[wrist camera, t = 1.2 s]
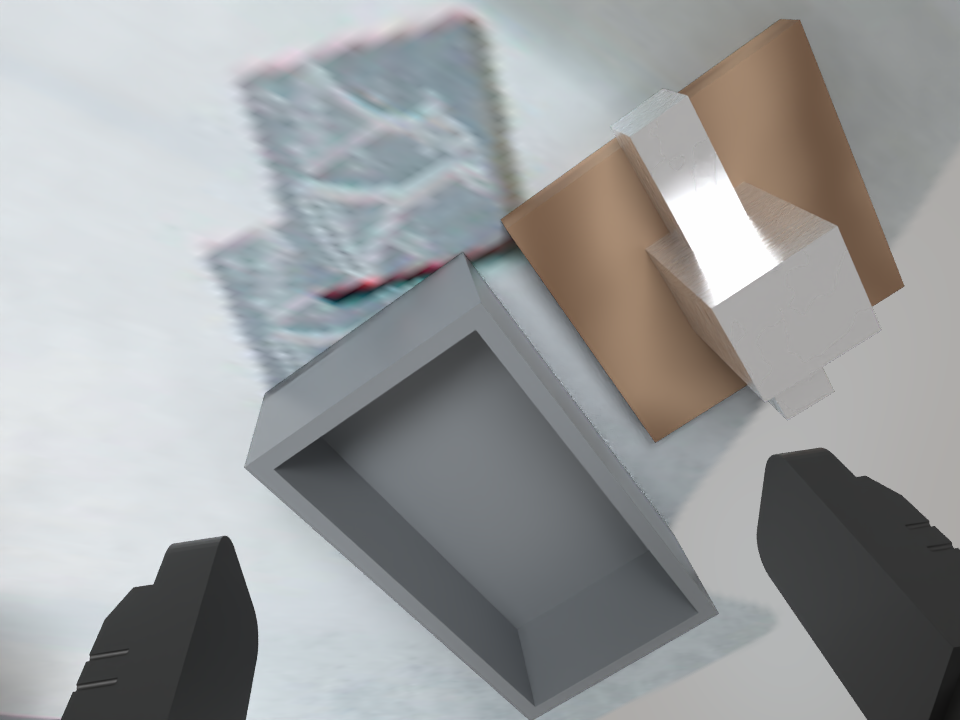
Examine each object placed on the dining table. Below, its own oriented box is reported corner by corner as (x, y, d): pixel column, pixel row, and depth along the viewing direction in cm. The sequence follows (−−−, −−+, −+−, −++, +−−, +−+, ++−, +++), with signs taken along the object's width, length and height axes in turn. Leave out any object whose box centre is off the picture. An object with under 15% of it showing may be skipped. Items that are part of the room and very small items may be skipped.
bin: (264, 393, 33) (243, 467, 28) (463, 251, 31) (480, 302, 26) (511, 632, 43) (530, 721, 37) (673, 534, 41) (718, 613, 36)
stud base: (779, 19, 29) (878, 22, 23) (884, 275, 35) (981, 327, 29) (500, 219, 31) (528, 266, 25) (645, 427, 37) (693, 501, 31)
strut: (583, 145, 28) (640, 182, 22) (689, 68, 28) (777, 86, 22) (739, 407, 35) (814, 490, 29) (827, 353, 35) (923, 426, 29)
